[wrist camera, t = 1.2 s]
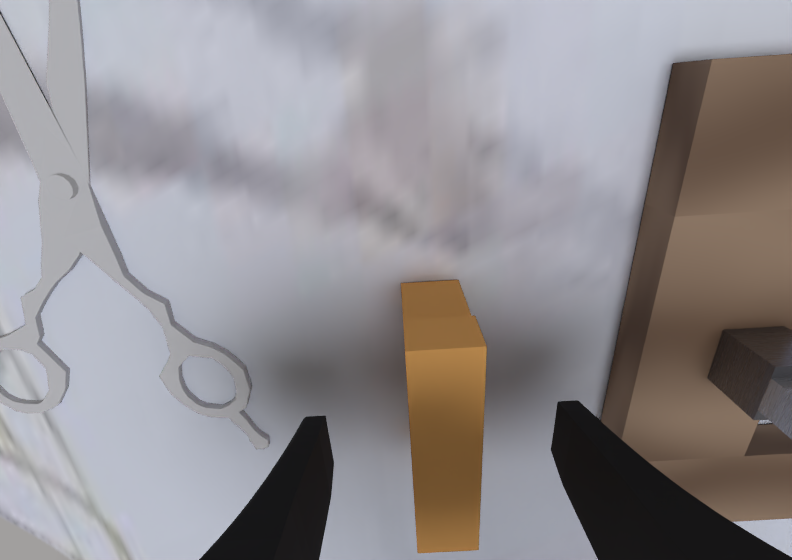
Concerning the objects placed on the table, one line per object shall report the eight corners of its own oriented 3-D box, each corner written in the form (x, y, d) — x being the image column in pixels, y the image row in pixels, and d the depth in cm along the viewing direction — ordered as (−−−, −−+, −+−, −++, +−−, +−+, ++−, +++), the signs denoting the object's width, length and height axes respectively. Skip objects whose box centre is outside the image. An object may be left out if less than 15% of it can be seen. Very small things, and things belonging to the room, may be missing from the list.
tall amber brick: (457, 442, 17) (478, 550, 13) (411, 444, 17) (417, 553, 13) (458, 271, 14) (486, 346, 10) (400, 275, 14) (404, 351, 10)
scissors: (8, 440, 17) (-344, -296, 8) (23, 426, 17) (-285, -265, 9) (268, 449, 17) (201, -239, 8) (273, 435, 18) (215, -215, 9)
